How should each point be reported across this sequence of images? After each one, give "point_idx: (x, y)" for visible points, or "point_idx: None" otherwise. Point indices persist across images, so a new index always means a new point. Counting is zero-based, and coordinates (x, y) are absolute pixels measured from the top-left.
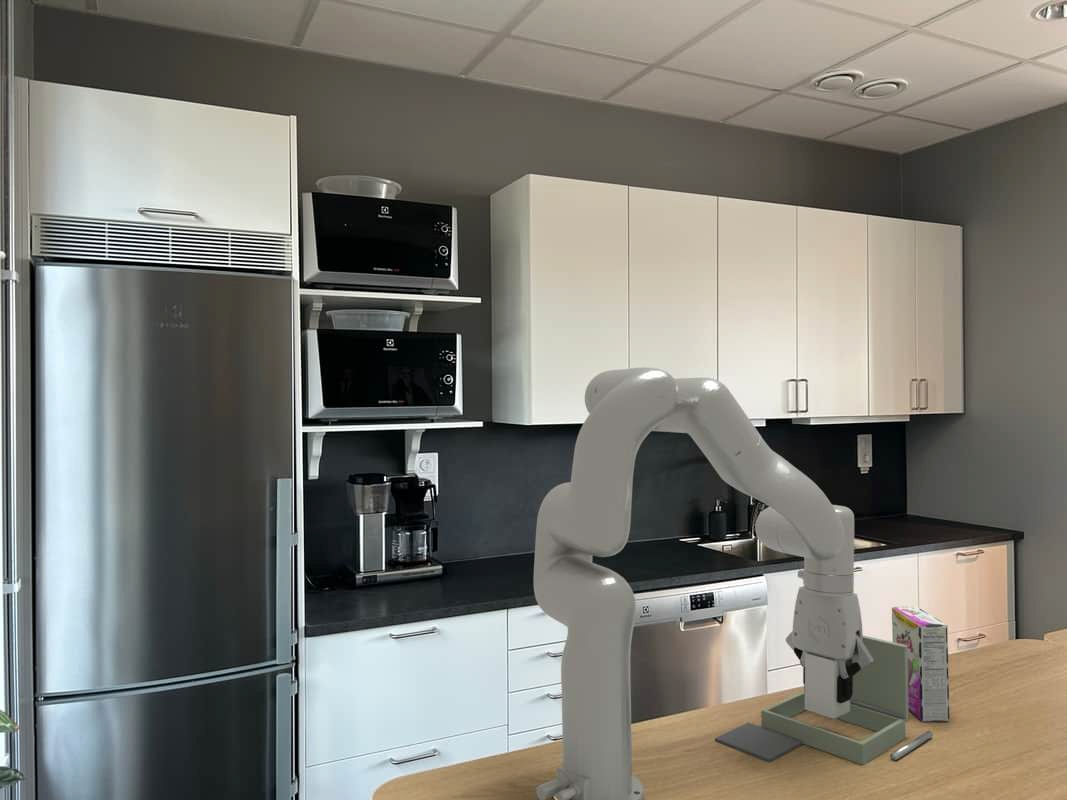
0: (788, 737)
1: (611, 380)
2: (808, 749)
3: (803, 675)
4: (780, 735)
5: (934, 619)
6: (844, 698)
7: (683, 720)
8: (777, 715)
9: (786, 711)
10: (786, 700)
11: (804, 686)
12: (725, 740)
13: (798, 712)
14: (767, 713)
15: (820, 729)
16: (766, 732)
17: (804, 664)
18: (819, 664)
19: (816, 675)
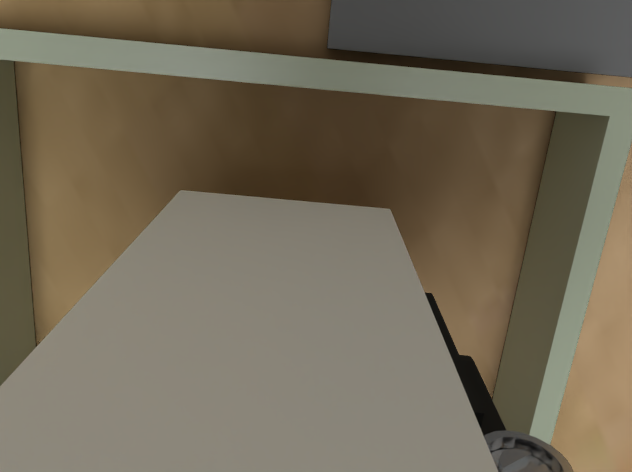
0: (410, 45)
1: None
2: (275, 10)
3: (486, 394)
4: (456, 39)
5: None
6: None
7: None
8: (523, 84)
9: (535, 292)
10: (564, 333)
11: (437, 310)
12: None
13: (500, 376)
14: (594, 85)
15: (213, 63)
16: (536, 21)
17: (503, 453)
18: (236, 412)
19: (295, 327)
